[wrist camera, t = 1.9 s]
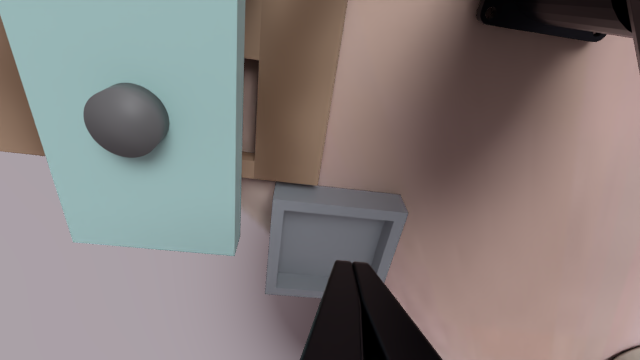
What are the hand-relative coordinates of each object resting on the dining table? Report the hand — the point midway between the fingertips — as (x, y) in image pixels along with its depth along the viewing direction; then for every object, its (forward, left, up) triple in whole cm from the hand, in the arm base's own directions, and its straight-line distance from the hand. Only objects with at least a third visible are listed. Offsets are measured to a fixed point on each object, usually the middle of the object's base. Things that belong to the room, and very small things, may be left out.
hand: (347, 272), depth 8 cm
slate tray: (-1, +9, -12) cm, 14 cm away
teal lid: (+7, -2, -9) cm, 12 cm away
